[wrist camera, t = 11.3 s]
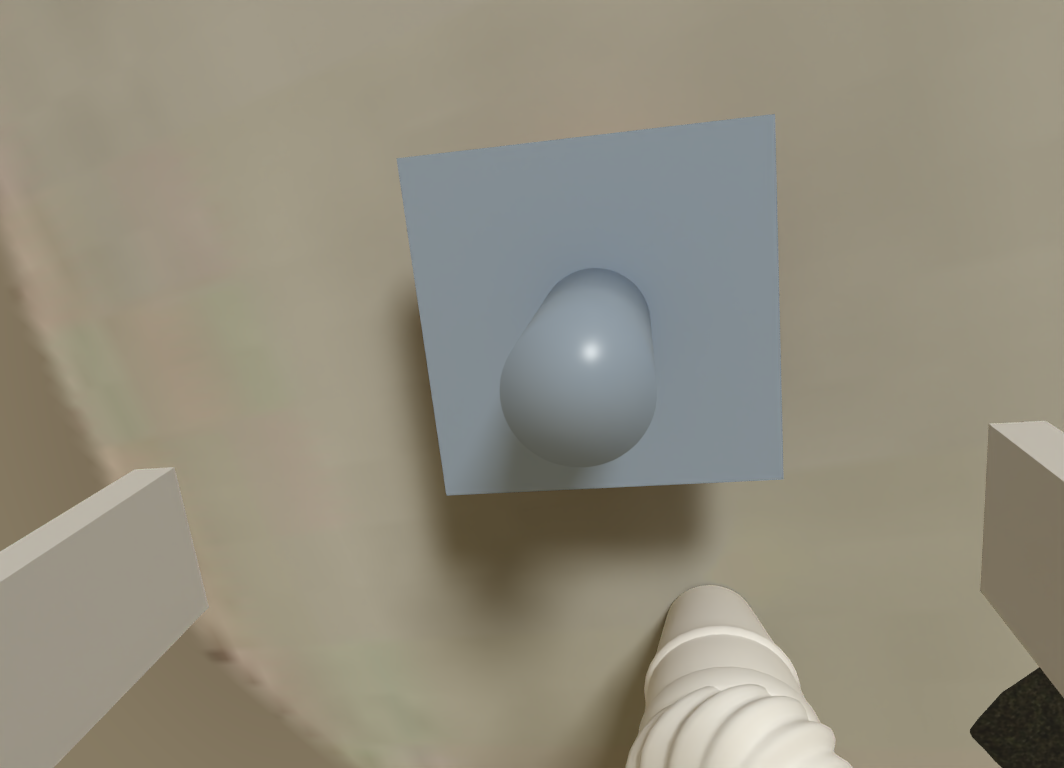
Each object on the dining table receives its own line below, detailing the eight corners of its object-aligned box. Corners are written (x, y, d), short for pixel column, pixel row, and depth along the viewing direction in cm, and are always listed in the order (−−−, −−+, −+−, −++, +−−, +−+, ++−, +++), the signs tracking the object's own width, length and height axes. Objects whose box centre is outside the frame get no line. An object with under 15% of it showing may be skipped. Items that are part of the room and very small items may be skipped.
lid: (769, 115, 26) (845, 91, 17) (778, 469, 30) (845, 613, 20) (404, 158, 28) (288, 158, 19) (452, 485, 32) (374, 624, 22)
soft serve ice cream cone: (592, 615, 40) (565, 901, 24) (713, 513, 37) (768, 758, 22) (707, 720, 40) (750, 1060, 25) (833, 626, 38) (965, 939, 23)
